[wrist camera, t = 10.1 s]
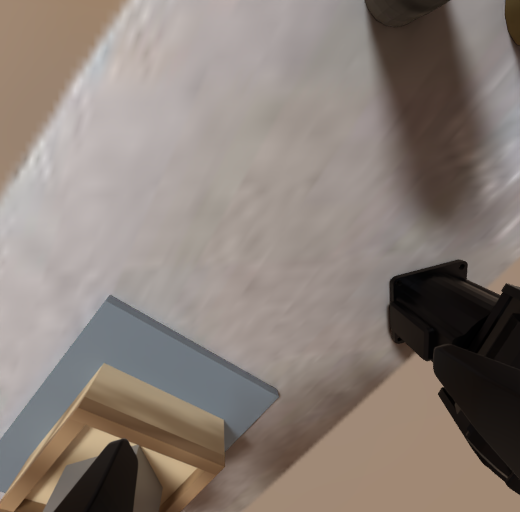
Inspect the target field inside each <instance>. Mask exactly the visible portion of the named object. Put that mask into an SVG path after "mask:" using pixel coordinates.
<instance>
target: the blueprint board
mask: <svg viewBox="0 0 520 512" xmlns="http://www.w3.org/2000/svg"><path fill="white" fill-rule="evenodd" d="M104 363H105V364H107V365H109V366H112V367H114V368H116V369H118V370H120V371H122V372H124V373H126V374H128V375H131V376H133V377H135V378H137V379H139V380H141V381H143V382H145V383H147V384H150V385H152V386H154V387H156V388H158V389H160V390H162V391H164V392H166V393H168V394H171V395H173V396H175V397H177V398H179V399H181V400H183V401H185V402H187V403H190V404H192V405H194V406H196V407H198V408H200V409H202V410H204V411H206V412H208V413H211V414H213V415H215V416H217V417H219V418H221V419H223V420H224V452H225V451H226V450H227V449H228V448H229V447H230V446H231V445H232V444H233V443H234V442H235V441H236V440H237V439H238V438H239V437H240V436H241V435H242V434H243V433H244V432H245V431H246V430H247V429H248V428H249V427H250V426H251V425H252V424H253V423H254V422H255V421H256V420H257V419H258V418H259V417H260V416H261V415H262V414H263V413H264V412H265V411H266V410H267V409H268V408H269V407H270V405H271V404H272V403H273V402H274V401H275V400H276V399H277V398H278V397H279V395H278V391H277V389H275V388H273V387H272V386H270V385H268V384H266V383H265V382H263V381H261V380H259V379H258V378H256V377H254V376H252V375H251V374H249V373H247V372H245V371H243V370H242V369H240V368H238V367H236V366H235V365H233V364H231V363H229V362H228V361H226V360H224V359H222V358H220V357H219V356H217V355H215V354H213V353H212V352H210V351H208V350H206V349H205V348H203V347H201V346H199V345H197V344H196V343H194V342H192V341H190V340H189V339H187V338H185V337H183V336H182V335H180V334H178V333H176V332H175V331H173V330H171V329H169V328H167V327H166V326H164V325H162V324H160V323H159V322H157V321H155V320H153V319H152V318H150V317H148V316H146V315H144V314H143V313H141V312H139V311H137V310H136V309H134V308H132V307H130V306H129V305H127V304H125V303H123V302H122V301H120V300H118V299H116V298H114V297H113V296H111V295H110V296H109V297H108V298H107V299H106V301H105V302H104V303H103V305H102V306H101V307H100V309H99V310H98V311H97V313H96V314H95V315H94V316H93V318H92V319H91V320H90V322H89V323H88V324H87V326H86V327H85V328H84V330H83V331H82V332H81V334H80V335H79V336H78V338H77V339H76V340H75V342H74V343H73V344H72V346H71V347H70V348H69V350H68V351H67V352H66V354H65V355H64V356H63V358H62V359H61V360H60V361H59V363H58V364H57V365H56V367H55V368H54V369H53V371H52V372H51V373H50V375H49V376H48V377H47V379H46V380H45V381H44V383H43V384H42V385H41V387H40V388H39V389H38V391H37V392H36V393H35V395H34V396H33V397H32V399H31V400H30V401H29V402H28V404H27V405H26V406H25V408H24V409H23V410H22V412H21V413H20V414H19V416H18V417H17V418H16V420H15V421H14V422H13V424H12V425H11V426H10V428H9V429H8V430H7V432H6V433H5V434H4V436H3V437H2V438H1V440H0V492H4V493H6V492H7V490H8V489H9V487H10V486H11V484H12V482H13V481H14V479H15V478H16V476H17V475H18V473H19V472H20V470H21V469H22V467H23V466H24V464H25V462H26V461H27V459H28V458H29V456H30V455H31V454H32V453H33V451H34V450H35V449H36V448H37V446H38V445H39V444H40V443H41V441H42V440H43V439H44V438H45V436H46V435H47V434H48V433H49V431H50V430H51V429H52V428H53V426H54V425H55V424H56V423H57V421H58V420H59V419H60V418H61V416H62V415H63V414H64V413H65V411H66V410H67V409H68V407H69V406H70V405H71V404H72V402H73V401H74V400H75V399H76V397H77V396H78V395H79V394H80V392H81V391H82V390H83V389H84V387H85V386H86V385H87V384H88V382H89V381H90V380H91V379H92V377H93V376H94V375H95V374H96V372H97V371H98V370H99V369H100V367H101V366H102V365H103V364H104Z"/></svg>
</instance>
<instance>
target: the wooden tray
mask: <svg viewBox="0 0 520 512" xmlns="http://www.w3.org/2000/svg"><path fill="white" fill-rule="evenodd" d="M122 438H125V439H127V440H128V441H129V443H130V445H131V446H135V445H139V446H140V447H141V448H142V450H143V452H144V454H145V456H146V458H147V459H148V461H149V463H150V465H151V467H152V469H153V470H154V472H155V474H156V476H157V478H158V480H159V482H160V483H161V485H162V487H163V490H162V496H161V502H160V508H159V512H180V511H181V510H182V509H183V508H184V507H185V506H186V505H187V504H188V503H189V502H190V501H191V500H192V499H193V498H194V497H195V496H196V495H197V494H198V493H199V492H200V491H201V490H202V489H203V488H204V487H205V486H206V485H207V484H208V483H209V482H210V481H211V480H212V479H213V478H214V477H215V476H216V475H217V474H218V473H219V472H220V471H221V470H222V469H223V468H224V467H225V452H224V420H223V419H221V418H219V417H217V416H215V415H213V414H211V413H208V412H206V411H204V410H202V409H200V408H198V407H196V406H194V405H192V404H190V403H187V402H185V401H183V400H181V399H179V398H177V397H175V396H173V395H171V394H168V393H166V392H164V391H162V390H160V389H158V388H156V387H154V386H152V385H150V384H147V383H145V382H143V381H141V380H139V379H137V378H135V377H133V376H131V375H128V374H126V373H124V372H122V371H120V370H118V369H116V368H114V367H112V366H109V365H107V364H105V363H104V364H103V365H102V366H101V367H100V369H99V370H98V371H97V372H96V374H95V375H94V376H93V377H92V379H91V380H90V381H89V382H88V384H87V385H86V386H85V387H84V389H83V390H82V391H81V392H80V394H79V395H78V396H77V397H76V399H75V400H74V401H73V402H72V404H71V405H70V406H69V407H68V409H67V410H66V411H65V413H64V414H63V415H62V416H61V418H60V419H59V420H58V421H57V423H56V424H55V425H54V426H53V428H52V429H51V430H50V431H49V433H48V434H47V435H46V436H45V438H44V439H43V440H42V441H41V443H40V444H39V445H38V446H37V448H36V449H35V450H34V451H33V453H32V454H31V455H30V456H29V458H28V459H27V461H26V462H25V464H24V466H23V467H22V469H21V470H20V472H19V473H18V475H17V476H16V478H15V479H14V481H13V482H12V484H11V486H10V487H9V489H8V490H7V492H6V493H5V495H4V496H3V498H2V499H1V501H0V512H43V510H44V508H45V506H46V504H47V502H48V500H49V498H50V496H51V494H52V492H53V490H54V488H55V486H56V484H57V482H58V481H59V479H60V477H61V475H62V473H63V471H64V469H65V467H66V465H69V464H72V463H76V462H79V461H83V460H86V459H90V458H93V457H97V456H98V455H99V454H100V453H101V452H102V451H103V449H104V448H105V447H106V446H107V445H108V444H109V443H110V442H112V441H115V440H119V439H122Z"/></svg>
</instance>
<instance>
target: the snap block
mask: <svg viewBox="0 0 520 512" xmlns="http://www.w3.org/2000/svg"><path fill="white" fill-rule="evenodd" d="M131 447H132V448H133V450H134V452H135V454H136V455H137V458H138V474H137V483H136V492H135V500H134V509H133V512H159V508H160V502H161V496H162V490H163V487H162V485H161V483H160V482H159V480H158V478H157V476H156V474H155V472H154V470H153V469H152V467H151V465H150V463H149V461H148V459H147V458H146V456H145V454H144V452H143V450H142V448H141V447H140V446H139V445H135V446H131ZM97 457H98V456H97ZM97 457H93V458H90V459H86V460H83V461H79V462H76V463H72V464H69V465H66V467H65V469H64V471H63V473H62V475H61V477H60V479H59V481H58V482H57V484H56V486H55V488H54V490H53V492H52V494H51V496H50V498H49V500H48V502H47V504H46V506H45V508H44V510H43V512H53V511H54V510H55V509H56V508H57V506H58V505H59V504H60V503H61V501H62V500H63V499H64V498H65V496H66V495H67V494H68V493H69V491H70V490H71V489H72V488H73V486H74V485H75V484H76V483H77V482H78V480H79V479H80V478H81V477H82V475H83V474H84V473H85V472H86V470H87V469H88V468H89V467H90V465H91V464H92V463H93V462H94V460H95V459H96V458H97Z"/></svg>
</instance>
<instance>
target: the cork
mask: <svg viewBox="0 0 520 512" xmlns="http://www.w3.org/2000/svg"><path fill="white" fill-rule="evenodd" d="M505 18H506V22H507V27H508V31H509V33H510V35H511V36H512V38H513V40H514V41H515V43H516V44H518V45H519V46H520V0H506V5H505Z"/></svg>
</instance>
